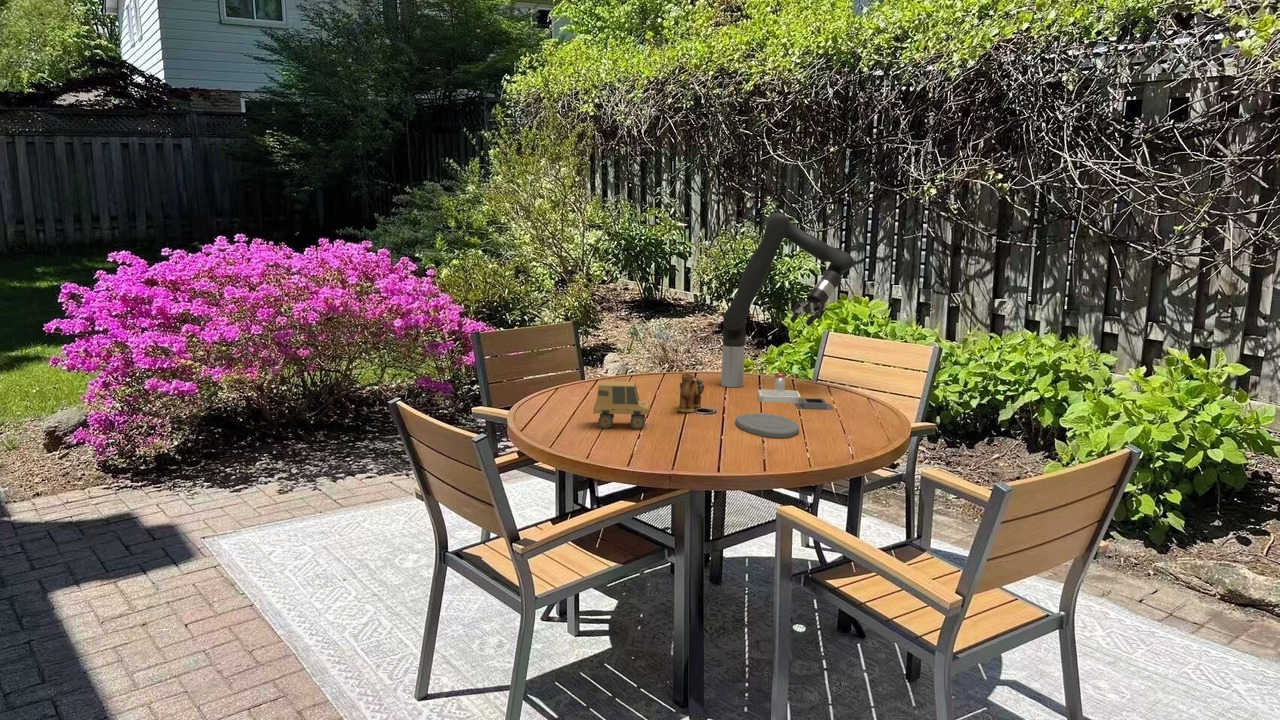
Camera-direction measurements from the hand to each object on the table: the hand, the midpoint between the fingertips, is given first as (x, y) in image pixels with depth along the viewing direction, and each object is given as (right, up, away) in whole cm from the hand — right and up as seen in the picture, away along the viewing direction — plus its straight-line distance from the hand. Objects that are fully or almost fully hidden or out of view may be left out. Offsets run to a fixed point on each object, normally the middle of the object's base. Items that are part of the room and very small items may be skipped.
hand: (799, 323), depth 352 cm
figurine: (-45, -34, -23) cm, 61 cm away
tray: (-9, -31, -6) cm, 33 cm away
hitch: (+2, -33, -17) cm, 37 cm away
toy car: (-70, -38, -46) cm, 92 cm away
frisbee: (-19, -39, -45) cm, 63 cm away
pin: (-9, -30, -6) cm, 32 cm away
